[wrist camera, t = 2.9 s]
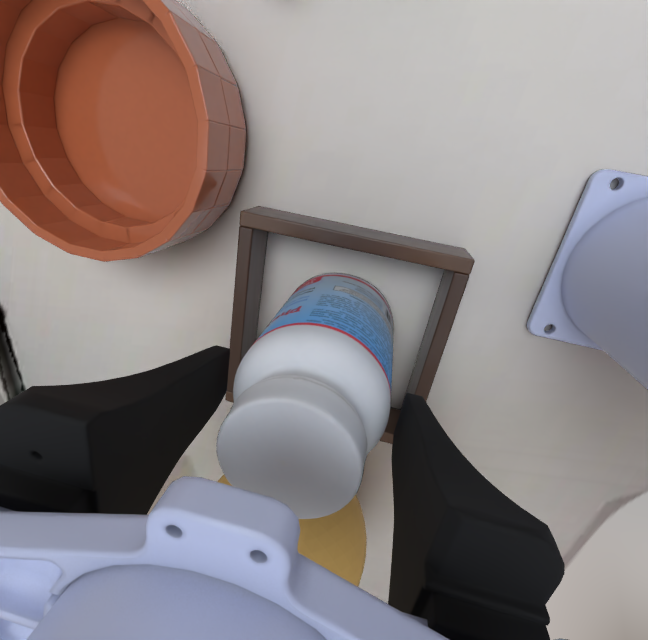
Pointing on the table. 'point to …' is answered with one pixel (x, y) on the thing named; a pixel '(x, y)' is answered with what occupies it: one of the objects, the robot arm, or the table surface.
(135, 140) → the bowl
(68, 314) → the table surface
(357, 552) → the stress ball
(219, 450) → the pill bottle
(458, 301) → the holder
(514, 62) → the table surface
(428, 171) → the table surface
